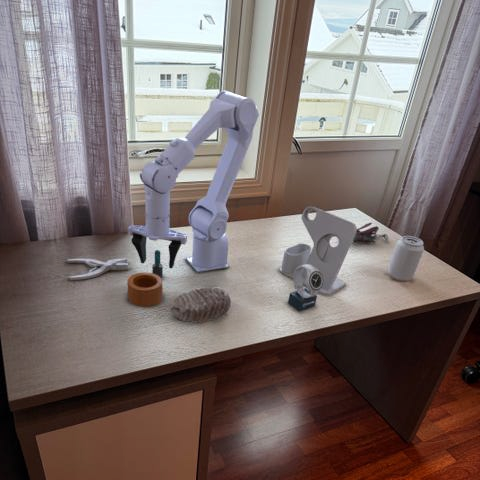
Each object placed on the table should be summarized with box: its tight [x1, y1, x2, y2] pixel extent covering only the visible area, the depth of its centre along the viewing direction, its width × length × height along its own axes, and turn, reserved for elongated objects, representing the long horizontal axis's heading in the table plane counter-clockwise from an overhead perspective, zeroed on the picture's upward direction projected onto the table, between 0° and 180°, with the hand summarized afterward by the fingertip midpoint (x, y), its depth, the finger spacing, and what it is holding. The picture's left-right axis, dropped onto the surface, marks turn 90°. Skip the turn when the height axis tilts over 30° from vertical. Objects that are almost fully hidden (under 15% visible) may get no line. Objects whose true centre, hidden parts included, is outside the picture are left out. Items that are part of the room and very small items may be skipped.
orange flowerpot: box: [126, 272, 164, 307], centre depth 108 cm, size 8×8×5 cm
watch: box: [287, 264, 324, 313], centre depth 111 cm, size 6×8×11 cm
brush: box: [151, 249, 164, 280], centre depth 115 cm, size 3×3×8 cm
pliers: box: [66, 257, 129, 281], centre depth 117 cm, size 10×2×15 cm
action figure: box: [352, 222, 390, 244], centre depth 149 cm, size 8×6×18 cm
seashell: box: [170, 286, 232, 323], centre depth 104 cm, size 14×9×10 cm
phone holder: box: [279, 205, 358, 296], centre depth 121 cm, size 17×10×18 cm, turn 47°
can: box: [387, 235, 425, 282], centre depth 129 cm, size 8×8×12 cm
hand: (157, 264), depth 115 cm, fingers open, 7 cm apart
